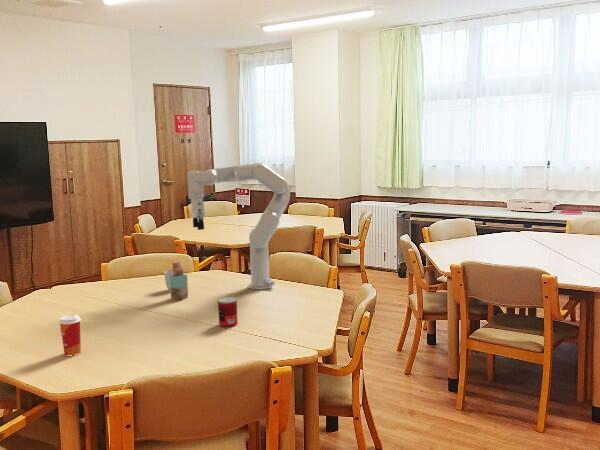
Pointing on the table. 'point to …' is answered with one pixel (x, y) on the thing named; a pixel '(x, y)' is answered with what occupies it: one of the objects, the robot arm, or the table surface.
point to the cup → (168, 278)
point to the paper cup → (71, 334)
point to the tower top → (178, 281)
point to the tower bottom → (179, 293)
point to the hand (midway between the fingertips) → (198, 228)
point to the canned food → (227, 311)
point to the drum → (178, 269)
